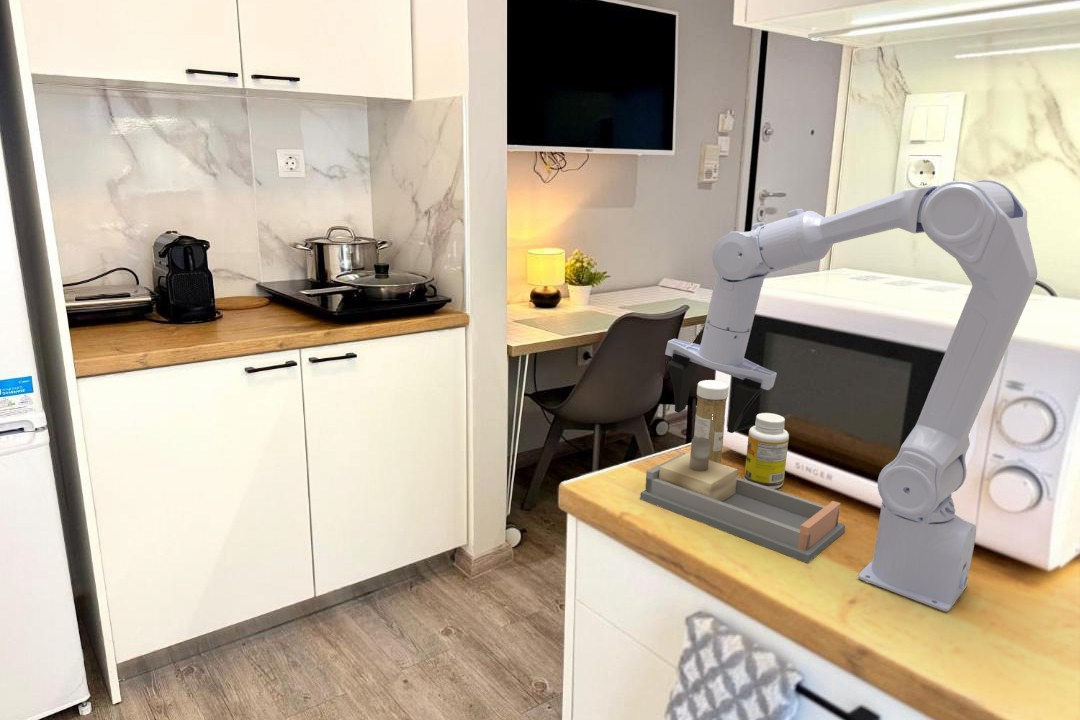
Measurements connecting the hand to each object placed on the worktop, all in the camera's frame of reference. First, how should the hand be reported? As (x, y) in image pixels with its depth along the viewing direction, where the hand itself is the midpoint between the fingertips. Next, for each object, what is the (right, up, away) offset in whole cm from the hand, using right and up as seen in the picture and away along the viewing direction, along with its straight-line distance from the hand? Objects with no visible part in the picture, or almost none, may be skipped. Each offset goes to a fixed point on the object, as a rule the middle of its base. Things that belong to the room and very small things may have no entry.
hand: (705, 420), depth 101 cm
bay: (+4, -13, -1) cm, 13 cm away
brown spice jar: (+3, -9, +15) cm, 17 cm away
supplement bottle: (+11, -10, +9) cm, 17 cm away
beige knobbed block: (-1, -10, +3) cm, 11 cm away
